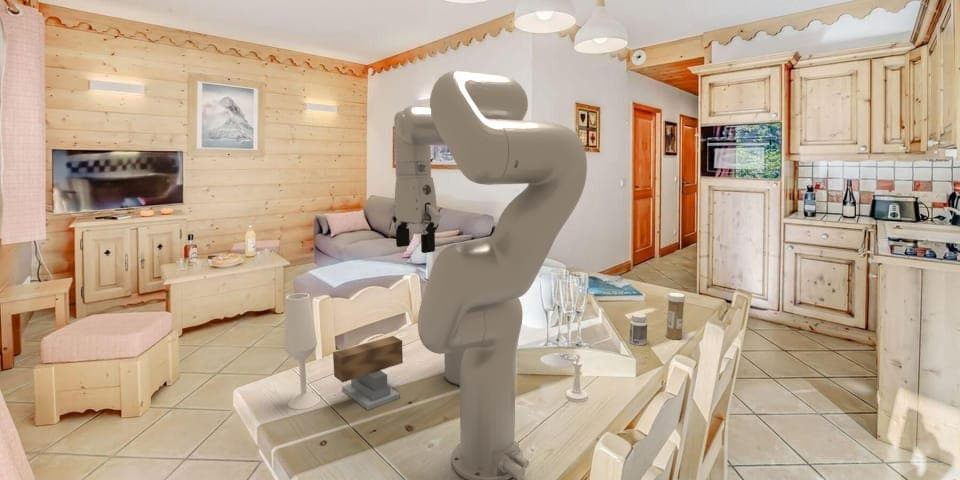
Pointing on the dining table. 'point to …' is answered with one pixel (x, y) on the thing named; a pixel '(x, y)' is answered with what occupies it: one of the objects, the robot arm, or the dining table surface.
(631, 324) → the pill bottle
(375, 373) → the block
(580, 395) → the chess piece
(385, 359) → the walnut block
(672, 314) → the sprinkles bottle
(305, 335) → the champagne flute
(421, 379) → the dining table surface
